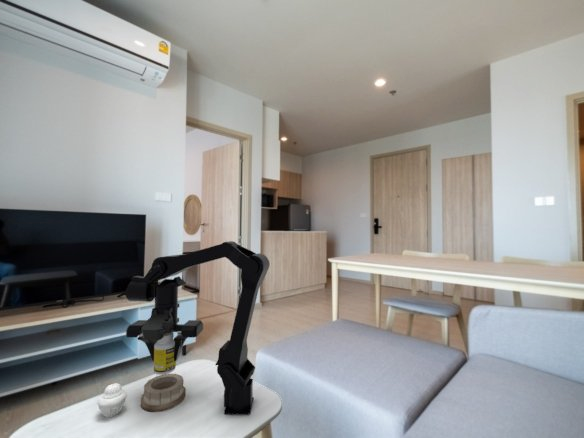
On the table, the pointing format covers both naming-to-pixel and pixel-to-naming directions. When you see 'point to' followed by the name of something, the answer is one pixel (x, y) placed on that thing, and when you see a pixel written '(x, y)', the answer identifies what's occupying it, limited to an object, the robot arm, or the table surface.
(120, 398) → the muffin
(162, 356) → the supplement bottle
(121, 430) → the table surface
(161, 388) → the stone fire pit
